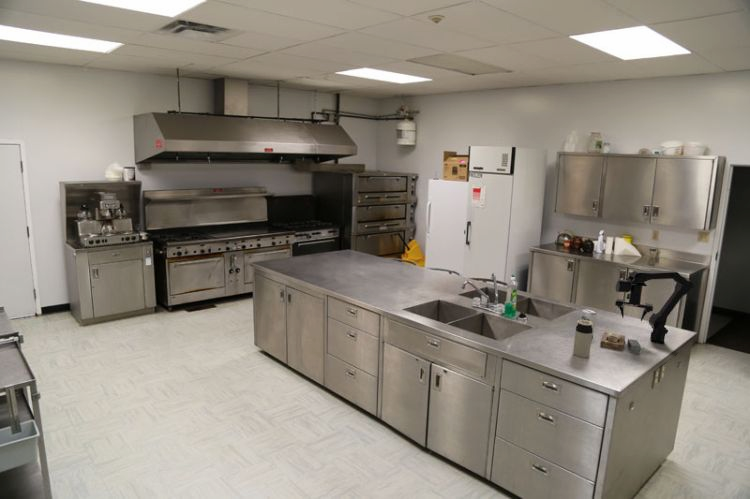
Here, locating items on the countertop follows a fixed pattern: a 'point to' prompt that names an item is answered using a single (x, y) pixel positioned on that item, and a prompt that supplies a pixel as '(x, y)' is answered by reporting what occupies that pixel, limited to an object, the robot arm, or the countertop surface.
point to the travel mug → (583, 338)
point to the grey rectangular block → (633, 346)
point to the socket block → (611, 344)
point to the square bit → (613, 337)
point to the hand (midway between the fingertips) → (632, 319)
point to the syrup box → (589, 317)
